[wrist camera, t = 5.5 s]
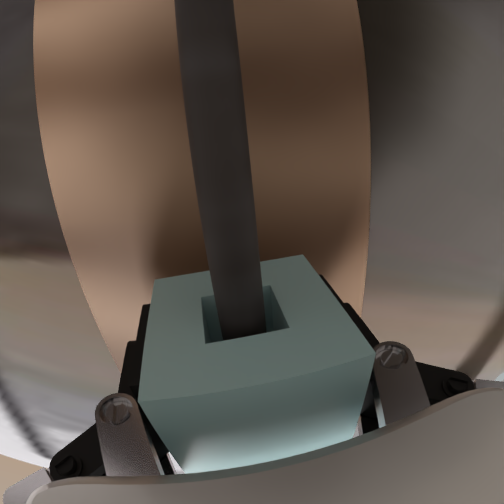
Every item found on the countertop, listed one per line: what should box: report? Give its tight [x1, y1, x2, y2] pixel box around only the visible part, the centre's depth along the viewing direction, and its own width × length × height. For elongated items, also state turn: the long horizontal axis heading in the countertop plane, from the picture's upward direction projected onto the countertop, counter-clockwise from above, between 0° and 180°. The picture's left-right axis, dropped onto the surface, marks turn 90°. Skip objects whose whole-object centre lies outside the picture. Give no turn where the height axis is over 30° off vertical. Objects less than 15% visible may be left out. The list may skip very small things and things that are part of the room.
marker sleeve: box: [138, 254, 376, 474], centre depth 9 cm, size 5×5×5 cm
